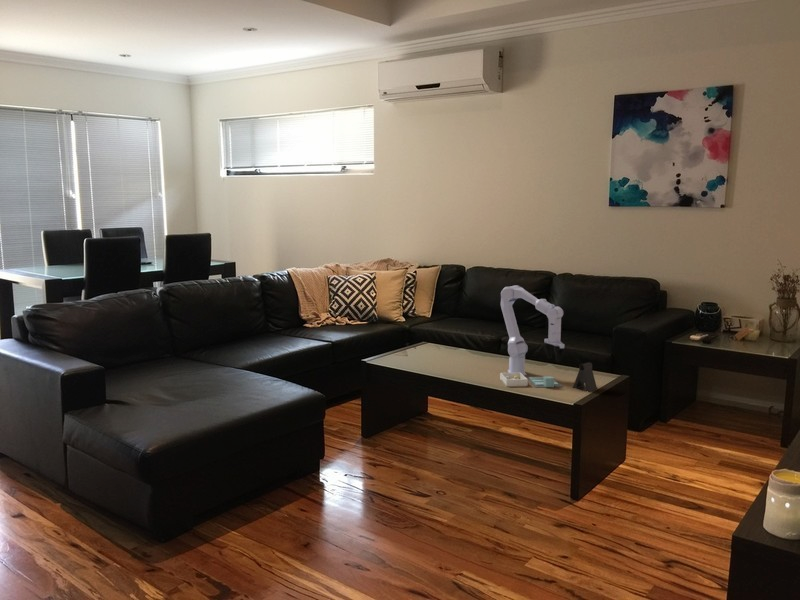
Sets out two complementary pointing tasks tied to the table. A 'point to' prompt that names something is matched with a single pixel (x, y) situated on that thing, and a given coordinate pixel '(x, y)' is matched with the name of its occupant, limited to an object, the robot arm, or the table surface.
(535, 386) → the mat
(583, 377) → the phone stand
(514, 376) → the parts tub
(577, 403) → the table surface
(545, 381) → the lid
